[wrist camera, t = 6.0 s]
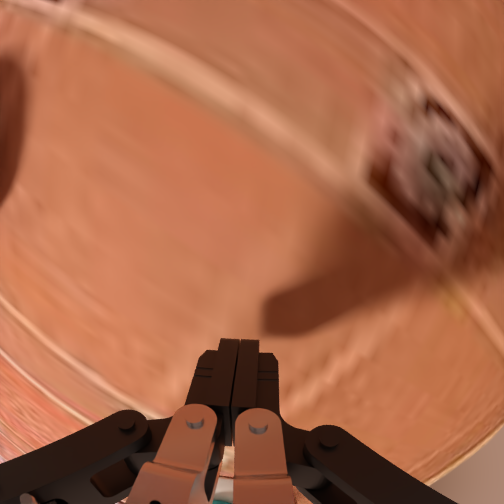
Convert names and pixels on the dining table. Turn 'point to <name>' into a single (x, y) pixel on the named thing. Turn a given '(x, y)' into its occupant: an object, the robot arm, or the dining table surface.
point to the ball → (219, 502)
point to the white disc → (224, 490)
